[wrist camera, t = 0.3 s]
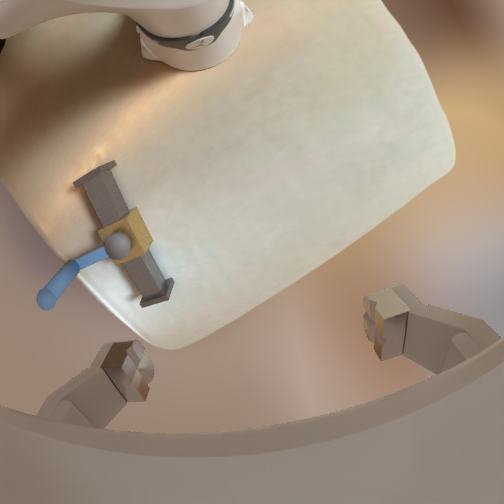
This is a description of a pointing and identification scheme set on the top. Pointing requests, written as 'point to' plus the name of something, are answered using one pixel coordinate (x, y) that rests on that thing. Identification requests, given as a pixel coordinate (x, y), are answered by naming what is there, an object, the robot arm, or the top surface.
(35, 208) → the top surface
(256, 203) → the top surface
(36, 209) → the top surface
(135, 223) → the valve pipe
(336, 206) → the top surface
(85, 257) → the lever
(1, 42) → the french press
